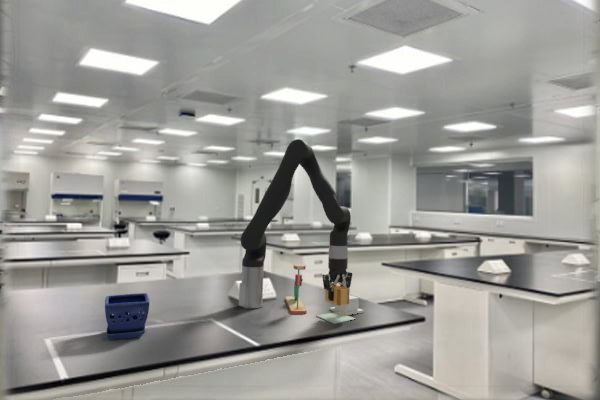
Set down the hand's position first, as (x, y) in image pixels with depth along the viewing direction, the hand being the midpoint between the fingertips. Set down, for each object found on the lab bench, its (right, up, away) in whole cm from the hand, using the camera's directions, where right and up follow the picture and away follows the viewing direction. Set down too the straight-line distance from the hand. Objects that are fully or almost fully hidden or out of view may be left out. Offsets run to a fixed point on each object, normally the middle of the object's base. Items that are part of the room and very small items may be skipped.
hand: (336, 299), depth 158 cm
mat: (0, -7, 0) cm, 7 cm away
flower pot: (-72, -5, -27) cm, 77 cm away
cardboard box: (0, -1, 0) cm, 1 cm away
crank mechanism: (-17, -7, +16) cm, 24 cm away
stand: (+5, -8, +10) cm, 14 cm away
